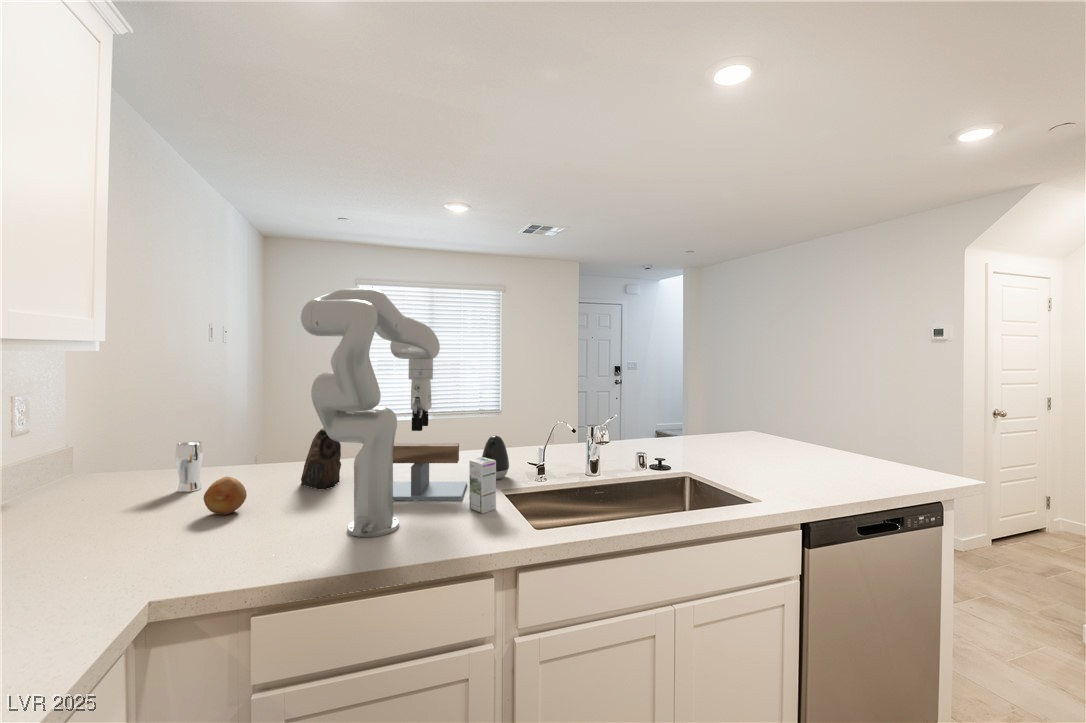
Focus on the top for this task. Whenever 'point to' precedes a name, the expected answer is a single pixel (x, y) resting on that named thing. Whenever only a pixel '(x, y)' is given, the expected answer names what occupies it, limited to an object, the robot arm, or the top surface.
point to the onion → (225, 496)
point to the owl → (322, 462)
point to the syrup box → (482, 484)
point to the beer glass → (189, 465)
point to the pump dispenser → (497, 455)
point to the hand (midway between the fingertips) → (420, 428)
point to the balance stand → (427, 487)
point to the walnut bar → (426, 453)
